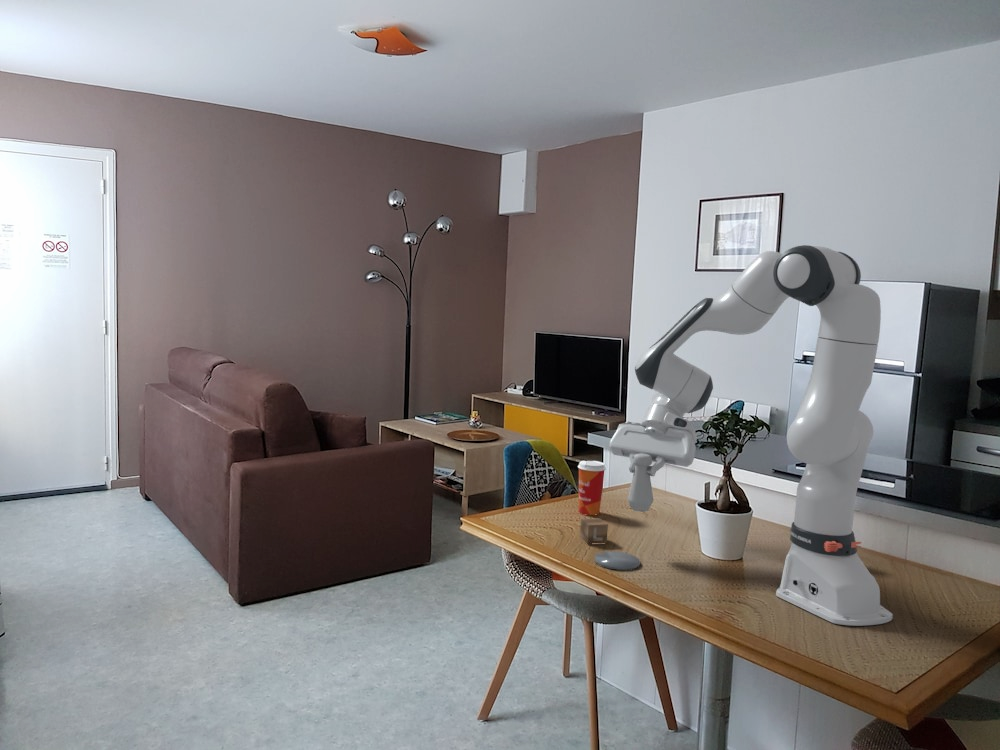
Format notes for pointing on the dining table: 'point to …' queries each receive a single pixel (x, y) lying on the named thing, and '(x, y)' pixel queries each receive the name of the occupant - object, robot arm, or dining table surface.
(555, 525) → the dining table surface
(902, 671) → the dining table surface
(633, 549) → the dining table surface
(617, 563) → the coaster
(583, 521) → the cube
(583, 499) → the paper cup
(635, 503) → the salt shaker
